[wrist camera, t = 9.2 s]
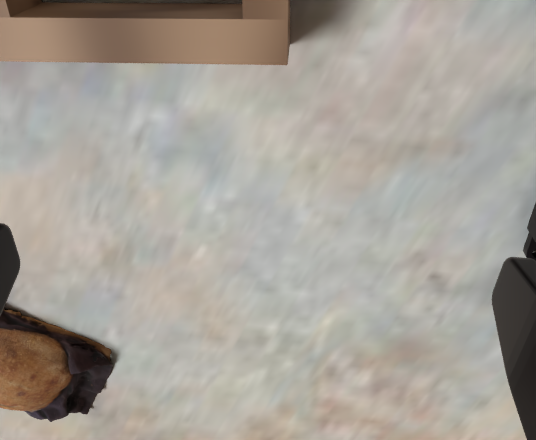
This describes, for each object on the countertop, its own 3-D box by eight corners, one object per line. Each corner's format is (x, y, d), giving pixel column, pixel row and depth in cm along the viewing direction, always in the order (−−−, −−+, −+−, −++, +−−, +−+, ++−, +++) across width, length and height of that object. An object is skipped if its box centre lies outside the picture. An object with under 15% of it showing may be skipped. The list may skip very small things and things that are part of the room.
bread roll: (-64, 361, 33) (-102, 410, 30) (-55, 274, 29) (-99, 322, 26) (93, 412, 35) (72, 463, 32) (125, 338, 31) (104, 390, 28)
